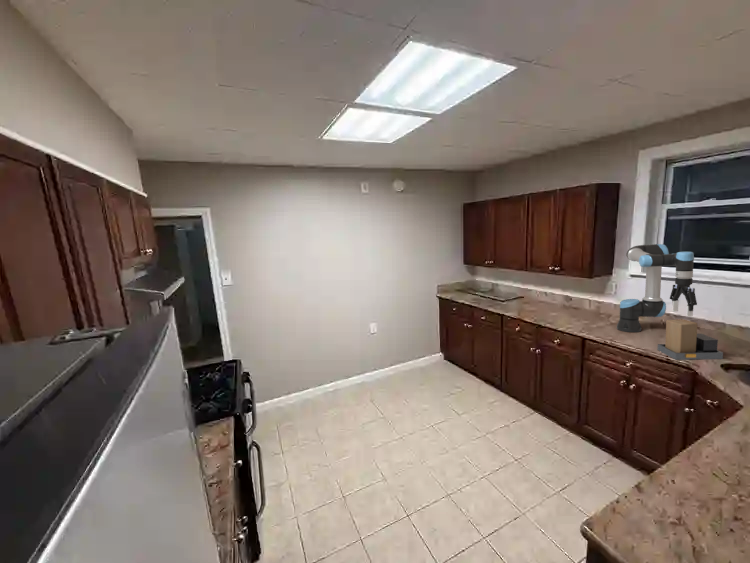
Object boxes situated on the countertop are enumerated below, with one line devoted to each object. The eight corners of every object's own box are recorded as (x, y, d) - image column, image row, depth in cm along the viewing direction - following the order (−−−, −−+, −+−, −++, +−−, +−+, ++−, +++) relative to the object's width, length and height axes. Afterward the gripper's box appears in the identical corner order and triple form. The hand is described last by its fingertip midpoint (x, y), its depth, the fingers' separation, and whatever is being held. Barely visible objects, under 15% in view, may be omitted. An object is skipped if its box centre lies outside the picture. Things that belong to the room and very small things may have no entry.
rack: (657, 350, 210) (658, 333, 209) (700, 349, 206) (701, 332, 205) (676, 360, 194) (677, 342, 193) (723, 359, 190) (724, 341, 189)
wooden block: (680, 349, 206) (681, 318, 203) (696, 355, 196) (697, 323, 194) (664, 350, 206) (666, 320, 203) (679, 356, 196) (681, 324, 193)
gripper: (663, 275, 206) (661, 309, 210) (691, 281, 184) (689, 319, 187) (676, 274, 205) (675, 308, 208) (707, 280, 183) (705, 318, 186)
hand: (682, 313), depth 198 cm, fingers open, 11 cm apart
